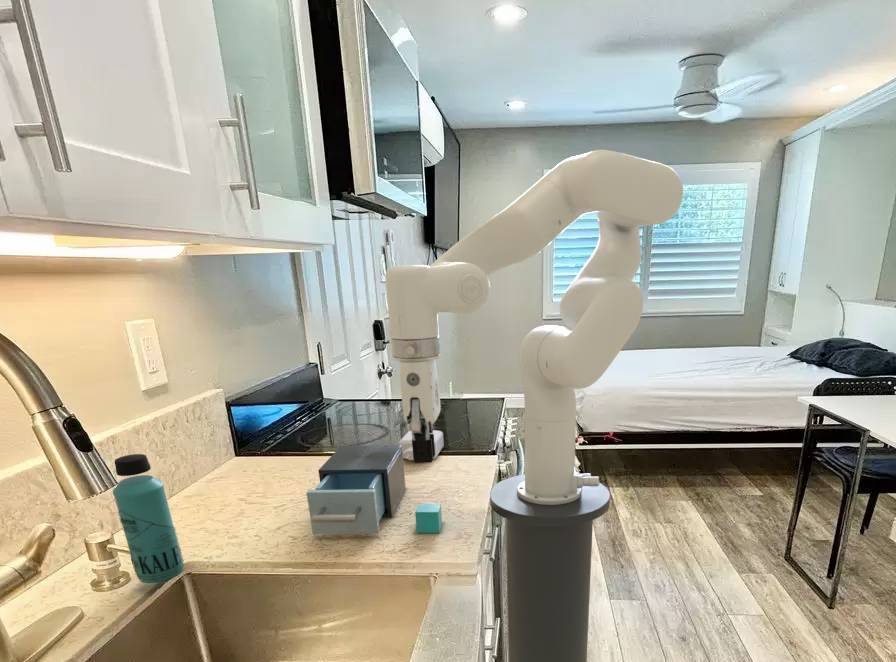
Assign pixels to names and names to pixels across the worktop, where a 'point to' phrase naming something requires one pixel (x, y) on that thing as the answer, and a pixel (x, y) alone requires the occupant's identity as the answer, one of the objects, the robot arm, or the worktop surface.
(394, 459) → the drawer cabinet
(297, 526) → the worktop surface
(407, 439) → the charger
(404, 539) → the worktop surface
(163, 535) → the beverage bottle
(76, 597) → the worktop surface
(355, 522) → the light blue drawer
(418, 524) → the teal rounded cube
